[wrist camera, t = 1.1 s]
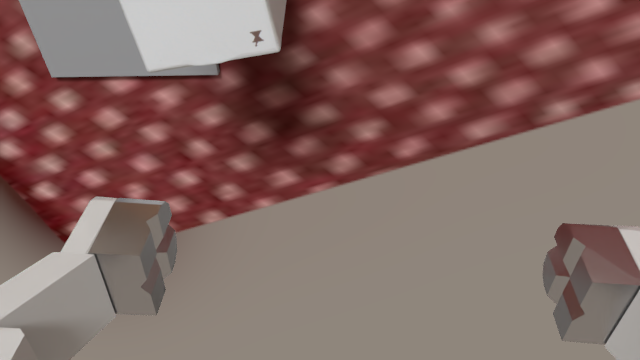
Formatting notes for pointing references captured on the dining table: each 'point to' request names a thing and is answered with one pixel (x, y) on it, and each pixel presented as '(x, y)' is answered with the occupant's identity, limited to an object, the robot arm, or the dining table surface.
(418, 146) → the dining table surface
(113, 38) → the mat
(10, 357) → the robot arm
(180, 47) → the skincare box
